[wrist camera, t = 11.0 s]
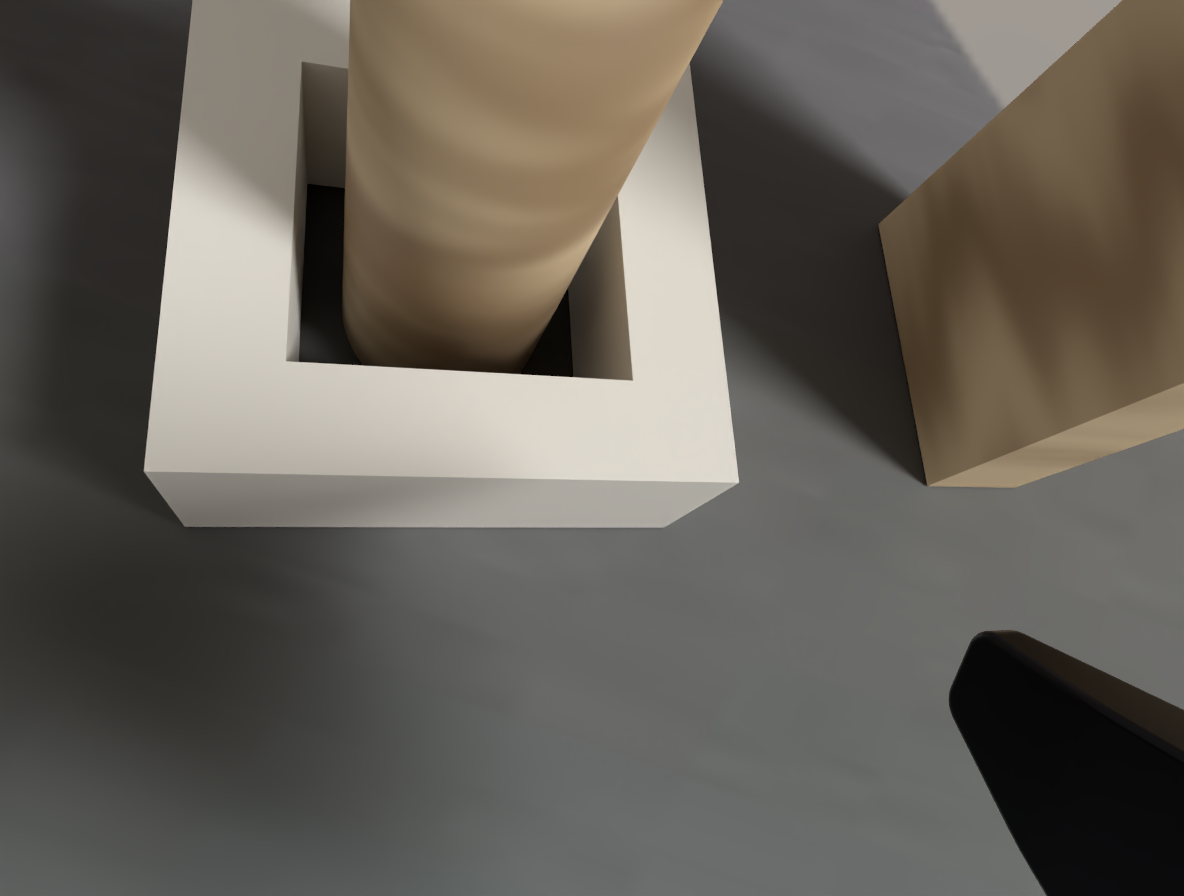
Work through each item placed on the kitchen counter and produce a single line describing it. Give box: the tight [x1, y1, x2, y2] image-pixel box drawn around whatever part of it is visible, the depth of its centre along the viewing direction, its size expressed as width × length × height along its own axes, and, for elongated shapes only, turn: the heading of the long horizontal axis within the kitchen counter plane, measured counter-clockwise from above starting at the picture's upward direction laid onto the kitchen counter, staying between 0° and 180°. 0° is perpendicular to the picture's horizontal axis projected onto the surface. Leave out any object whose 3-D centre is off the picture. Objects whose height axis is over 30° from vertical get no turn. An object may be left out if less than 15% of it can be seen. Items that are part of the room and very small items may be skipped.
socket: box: [144, 0, 739, 528], centre depth 16 cm, size 9×9×4 cm
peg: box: [342, 0, 723, 374], centre depth 12 cm, size 4×4×11 cm
